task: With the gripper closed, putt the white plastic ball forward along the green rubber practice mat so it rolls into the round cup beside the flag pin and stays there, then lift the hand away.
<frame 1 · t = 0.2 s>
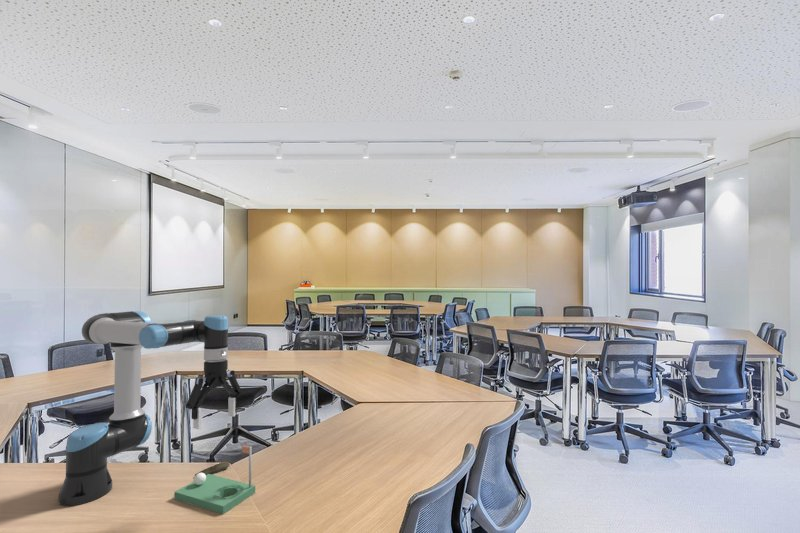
hand: (215, 421, 133), 27 cm above the table, fingers open, 13 cm apart
ball: (200, 478, 140), point 4 cm above the table, touching green
stone: (212, 472, 155), on the table
green: (215, 496, 136), on the table
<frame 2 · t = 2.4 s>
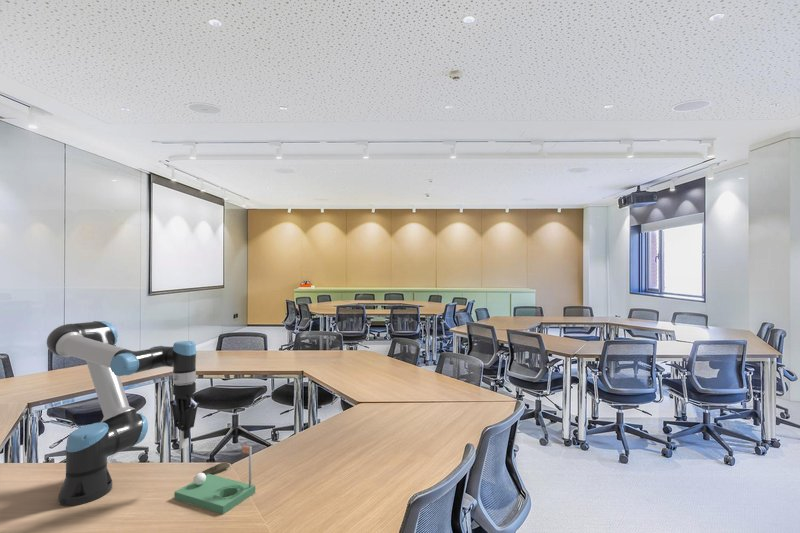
hand: (184, 446, 144), 15 cm above the table, fingers closed
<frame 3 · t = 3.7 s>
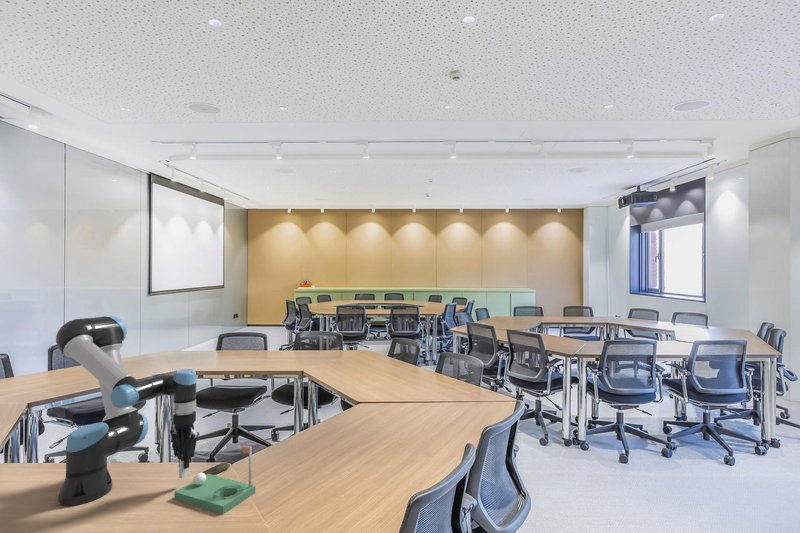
hand: (183, 476, 143), 4 cm above the table, fingers closed
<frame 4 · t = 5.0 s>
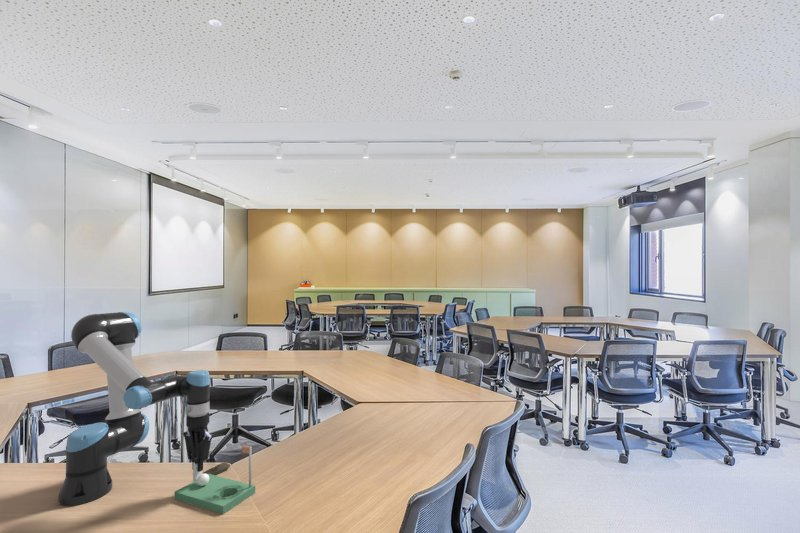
hand: (197, 479, 140), 4 cm above the table, fingers closed
ball: (203, 479, 139), point 4 cm above the table, tilted 44°, touching green
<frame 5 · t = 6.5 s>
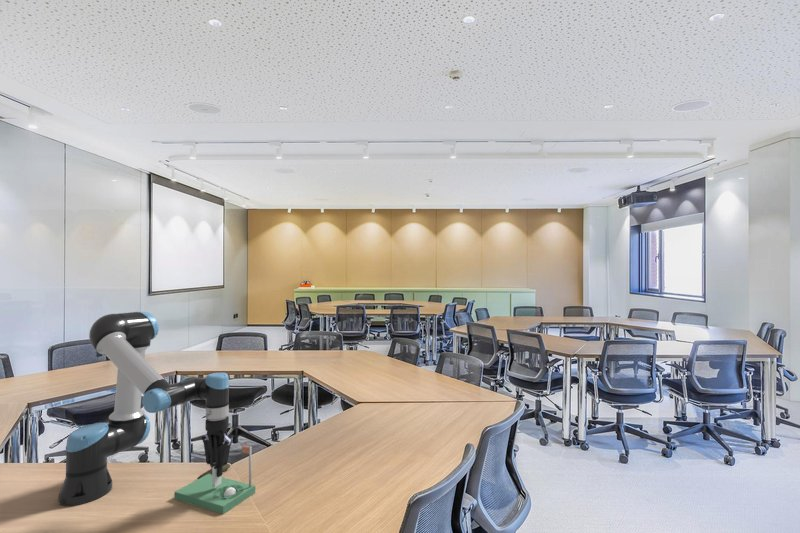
hand: (216, 485, 136), 4 cm above the table, fingers closed
ball: (230, 494, 134), point 2 cm above the table, tilted 86°
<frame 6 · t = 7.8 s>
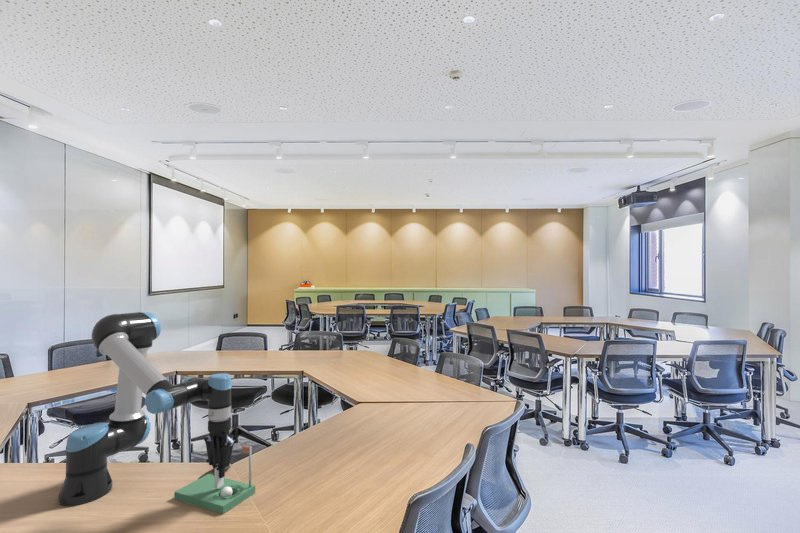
hand: (218, 486, 136), 4 cm above the table, fingers closed
ball: (226, 493, 135), point 2 cm above the table, tilted 37°
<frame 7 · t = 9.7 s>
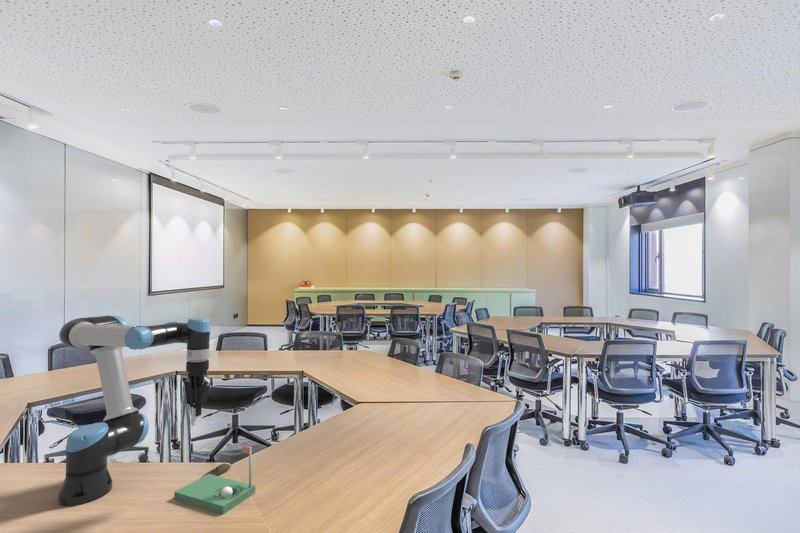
hand: (195, 424, 142), 24 cm above the table, fingers closed
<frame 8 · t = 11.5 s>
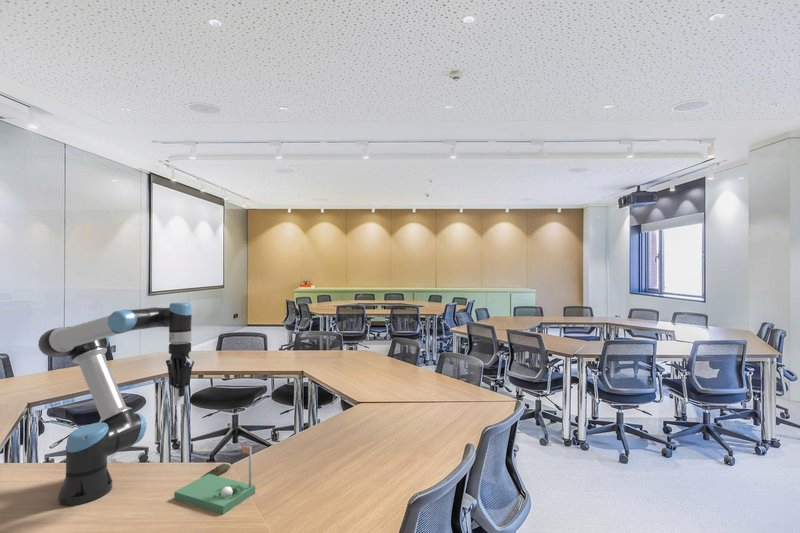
hand: (179, 404, 147), 29 cm above the table, fingers closed
at the end: ball 1.0 cm from the target spot in the green, point 2.0 cm above the green's base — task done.
